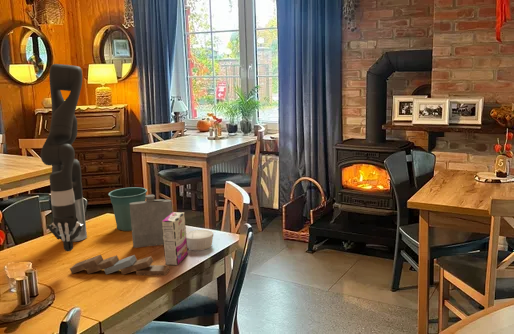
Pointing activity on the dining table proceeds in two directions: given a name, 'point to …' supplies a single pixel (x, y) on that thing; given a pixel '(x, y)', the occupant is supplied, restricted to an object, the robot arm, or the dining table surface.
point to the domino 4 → (138, 265)
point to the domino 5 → (153, 270)
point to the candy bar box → (174, 238)
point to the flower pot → (125, 205)
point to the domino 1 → (86, 264)
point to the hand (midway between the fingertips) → (68, 250)
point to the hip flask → (149, 221)
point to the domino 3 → (121, 264)
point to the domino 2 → (103, 264)
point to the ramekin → (199, 239)
